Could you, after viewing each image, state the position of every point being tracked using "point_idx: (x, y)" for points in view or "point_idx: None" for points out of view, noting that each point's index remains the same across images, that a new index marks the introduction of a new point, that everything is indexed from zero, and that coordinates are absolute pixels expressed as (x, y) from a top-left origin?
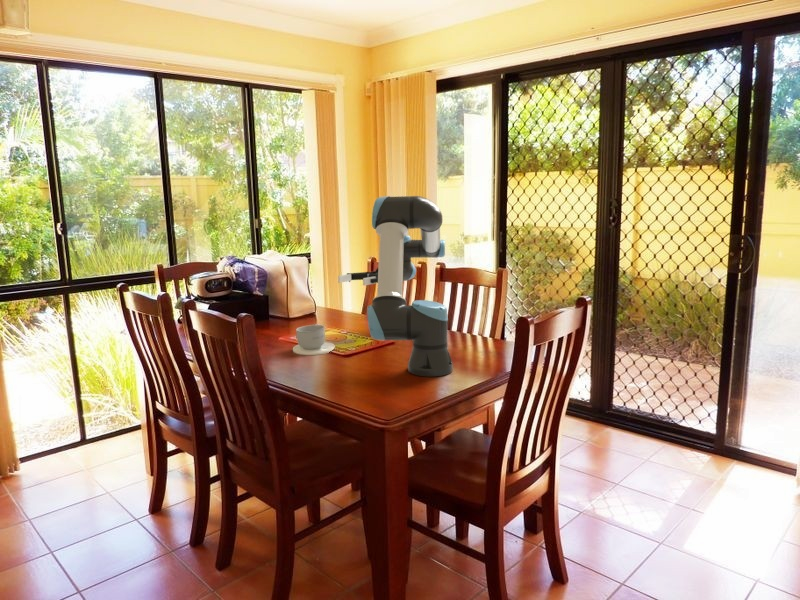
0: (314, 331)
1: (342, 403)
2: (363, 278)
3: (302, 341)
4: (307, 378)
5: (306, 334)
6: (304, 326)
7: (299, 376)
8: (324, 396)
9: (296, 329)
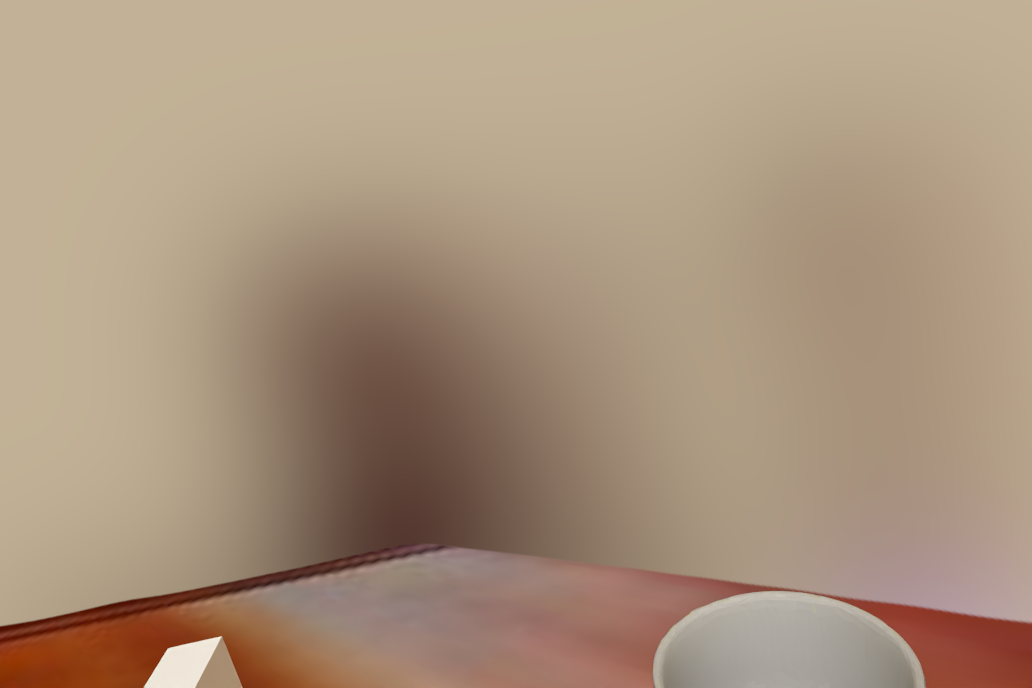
0: (655, 657)
1: (108, 624)
2: (204, 643)
3: (730, 666)
4: (367, 624)
5: (690, 635)
6: (910, 665)
7: (414, 611)
8: (195, 608)
9: (825, 599)
